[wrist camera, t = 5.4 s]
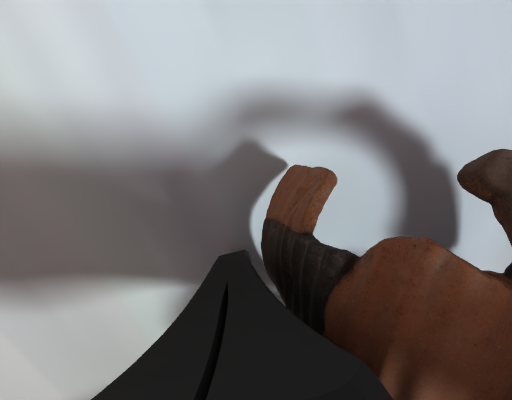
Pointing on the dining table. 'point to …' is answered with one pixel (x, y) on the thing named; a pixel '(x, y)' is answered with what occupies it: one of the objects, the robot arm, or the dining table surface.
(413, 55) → the dining table surface
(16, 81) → the dining table surface
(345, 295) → the brown curved wooden piece
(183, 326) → the robot arm
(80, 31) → the dining table surface
